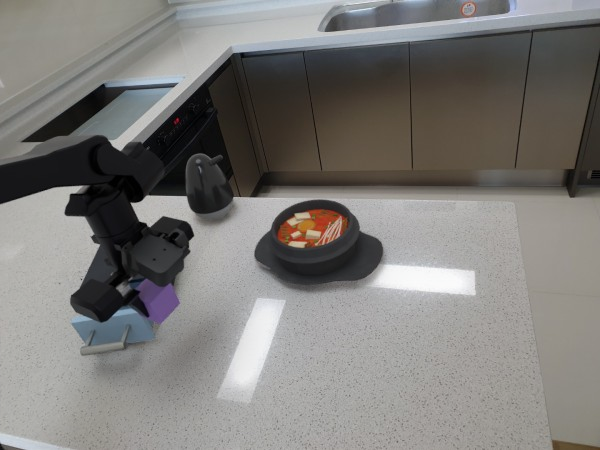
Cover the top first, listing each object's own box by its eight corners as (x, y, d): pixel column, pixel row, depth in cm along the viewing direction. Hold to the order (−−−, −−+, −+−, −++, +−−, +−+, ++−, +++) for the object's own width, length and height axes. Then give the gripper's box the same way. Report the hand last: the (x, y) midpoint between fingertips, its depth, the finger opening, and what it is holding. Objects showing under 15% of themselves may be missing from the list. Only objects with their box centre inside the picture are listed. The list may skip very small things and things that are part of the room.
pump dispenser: (236, 223, 101) (217, 163, 92) (190, 229, 102) (167, 171, 93) (241, 197, 109) (224, 140, 100) (199, 203, 110) (178, 147, 101)
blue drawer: (148, 363, 73) (131, 335, 69) (79, 373, 74) (59, 346, 70) (168, 283, 88) (156, 256, 84) (111, 292, 88) (96, 266, 84)
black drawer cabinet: (167, 310, 83) (150, 276, 78) (100, 321, 84) (79, 288, 79) (180, 257, 95) (166, 225, 90) (121, 267, 96) (104, 235, 90)
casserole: (396, 236, 89) (394, 201, 84) (364, 306, 76) (359, 269, 71) (282, 219, 99) (274, 187, 94) (238, 278, 87) (226, 244, 82)
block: (160, 324, 68) (149, 303, 65) (139, 316, 70) (127, 295, 67) (180, 303, 70) (170, 282, 68) (159, 295, 73) (149, 275, 70)
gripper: (102, 287, 50) (153, 372, 60) (206, 193, 62) (235, 276, 72) (41, 265, 56) (97, 346, 65) (148, 182, 68) (182, 261, 77)
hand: (157, 305), depth 69 cm, fingers closed on block, 4 cm apart
